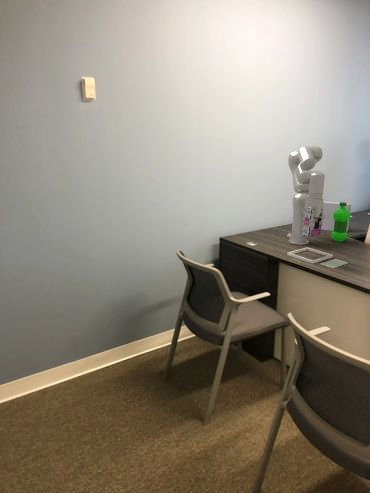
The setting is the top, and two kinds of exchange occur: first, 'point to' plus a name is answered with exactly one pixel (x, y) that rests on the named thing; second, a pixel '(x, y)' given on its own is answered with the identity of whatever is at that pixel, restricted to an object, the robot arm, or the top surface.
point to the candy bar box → (310, 223)
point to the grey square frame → (310, 259)
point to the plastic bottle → (340, 223)
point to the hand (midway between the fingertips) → (312, 227)
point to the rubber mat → (334, 263)
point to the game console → (328, 212)
